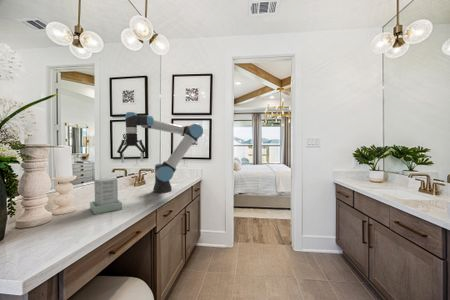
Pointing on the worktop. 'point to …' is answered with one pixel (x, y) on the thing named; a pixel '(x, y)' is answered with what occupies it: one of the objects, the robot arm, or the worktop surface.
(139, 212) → the worktop surface
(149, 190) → the worktop surface
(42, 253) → the worktop surface
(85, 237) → the worktop surface
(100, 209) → the tray
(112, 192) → the supplement box
